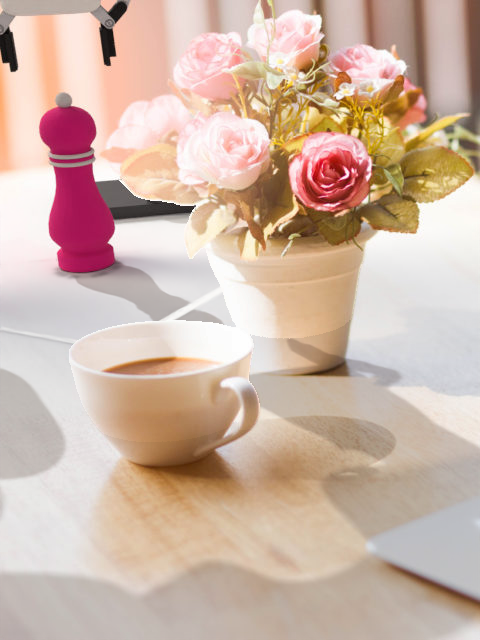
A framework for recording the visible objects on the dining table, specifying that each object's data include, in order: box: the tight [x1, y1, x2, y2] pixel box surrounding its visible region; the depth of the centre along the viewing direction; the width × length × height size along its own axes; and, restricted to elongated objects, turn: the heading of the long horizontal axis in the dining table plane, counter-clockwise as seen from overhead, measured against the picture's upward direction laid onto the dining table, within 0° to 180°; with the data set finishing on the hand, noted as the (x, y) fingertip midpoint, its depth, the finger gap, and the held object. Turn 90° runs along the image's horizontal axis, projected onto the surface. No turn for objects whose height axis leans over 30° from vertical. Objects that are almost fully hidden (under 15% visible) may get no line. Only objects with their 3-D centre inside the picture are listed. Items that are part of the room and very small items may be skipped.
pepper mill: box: [38, 91, 116, 273], centre depth 134 cm, size 7×7×20 cm
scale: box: [95, 179, 196, 221], centre depth 160 cm, size 16×14×4 cm
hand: (61, 66), depth 129 cm, fingers open, 9 cm apart
